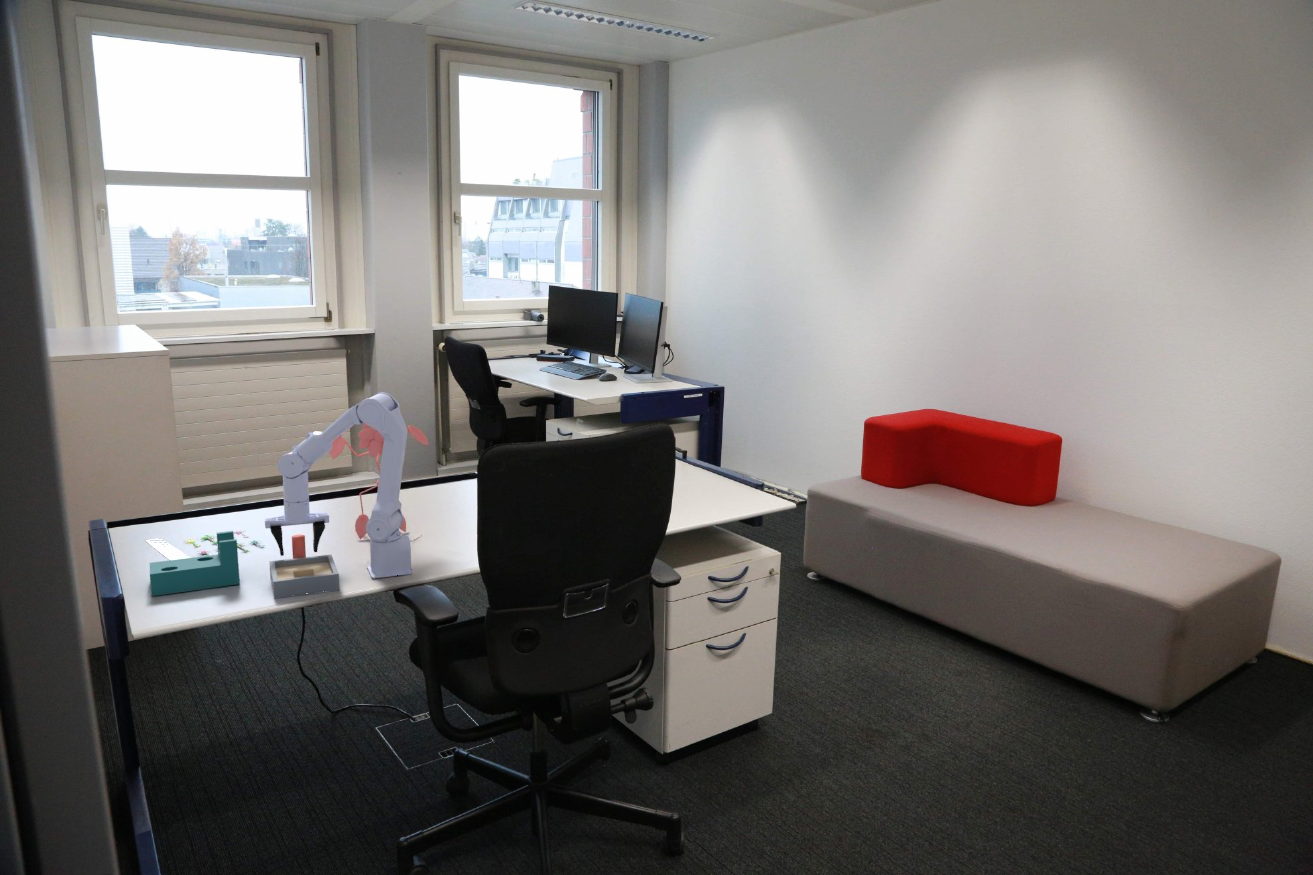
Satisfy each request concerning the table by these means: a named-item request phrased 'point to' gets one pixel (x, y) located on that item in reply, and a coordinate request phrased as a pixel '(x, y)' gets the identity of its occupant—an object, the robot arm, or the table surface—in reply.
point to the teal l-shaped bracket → (198, 570)
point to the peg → (298, 546)
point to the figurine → (375, 446)
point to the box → (303, 576)
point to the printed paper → (173, 552)
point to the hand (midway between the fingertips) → (298, 552)
